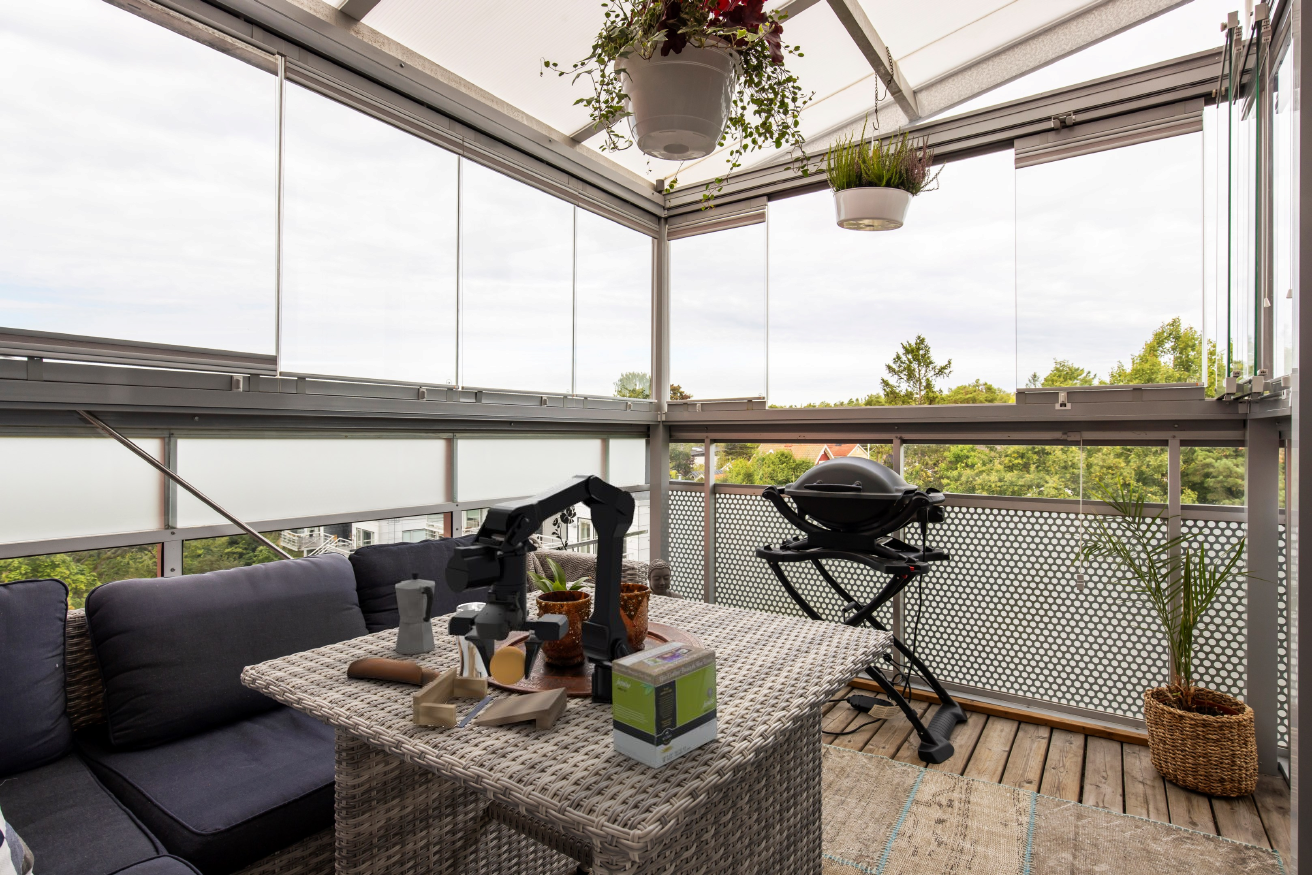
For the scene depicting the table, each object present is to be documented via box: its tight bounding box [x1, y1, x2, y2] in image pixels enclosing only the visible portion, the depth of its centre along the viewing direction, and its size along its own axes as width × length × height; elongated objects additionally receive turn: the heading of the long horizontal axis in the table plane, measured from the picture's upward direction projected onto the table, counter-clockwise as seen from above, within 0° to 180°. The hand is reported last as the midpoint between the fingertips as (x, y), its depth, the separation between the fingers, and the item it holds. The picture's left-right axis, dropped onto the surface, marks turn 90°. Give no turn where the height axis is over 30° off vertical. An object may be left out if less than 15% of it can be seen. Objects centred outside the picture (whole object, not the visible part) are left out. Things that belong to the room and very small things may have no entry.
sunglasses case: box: [346, 657, 443, 688], centre depth 143 cm, size 18×7×7 cm
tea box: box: [612, 639, 718, 770], centre depth 112 cm, size 15×10×15 cm, turn 136°
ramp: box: [473, 686, 568, 731], centre depth 124 cm, size 14×10×5 cm
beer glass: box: [455, 602, 488, 678], centre depth 141 cm, size 7×7×15 cm
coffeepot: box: [394, 570, 436, 655], centre depth 160 cm, size 15×9×18 cm, turn 43°
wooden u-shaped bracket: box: [412, 667, 494, 728], centre depth 126 cm, size 9×14×5 cm, turn 170°
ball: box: [490, 645, 526, 686], centre depth 112 cm, size 6×6×6 cm
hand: (508, 677), depth 112 cm, fingers closed on ball, 6 cm apart
